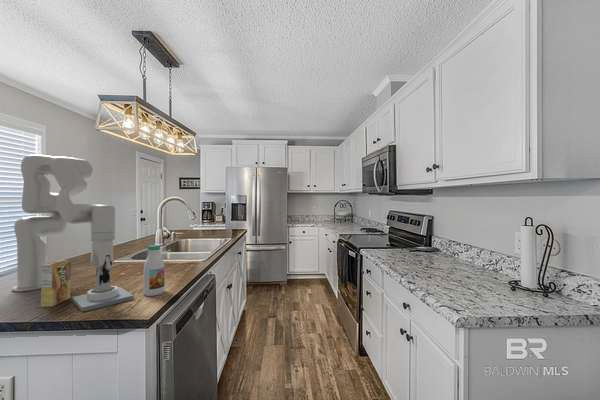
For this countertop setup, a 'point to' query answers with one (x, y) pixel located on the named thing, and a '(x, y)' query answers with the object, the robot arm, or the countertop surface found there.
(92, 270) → the countertop surface
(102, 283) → the grey ball-topped peg
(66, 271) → the candy box
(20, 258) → the robot arm
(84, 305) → the collar plate
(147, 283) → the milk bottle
